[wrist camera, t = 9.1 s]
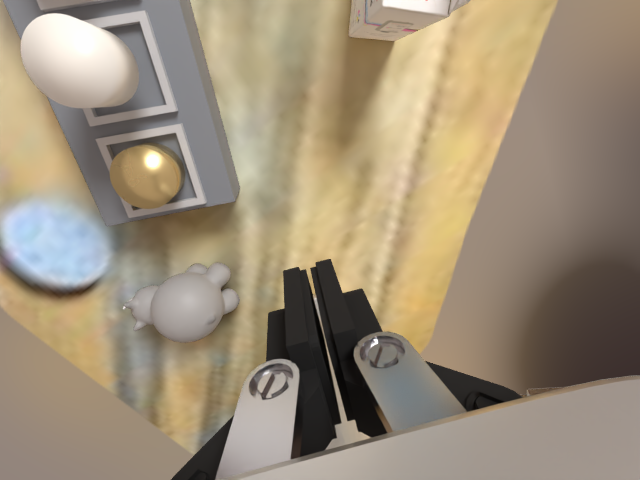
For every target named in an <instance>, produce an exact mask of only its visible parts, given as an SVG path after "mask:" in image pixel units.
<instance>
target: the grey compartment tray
mask: <svg viewBox="0 0 640 480" xmlns="http://www.w3.org/2000/svg"><path fill="white" fill-rule="evenodd" d="M3 2H4V4H5V6H6V8H7V10H8V13H9V15H10V17H11V19H12V21H13V24H14V26H15V28H16V30H17V32H18V34H19V37H20V39H22V35H23V33H24V31H25V29H26V27H27V26H28V25H29V24H30V23H31V22H32V21H33V20H34V19H36V18H37V17H40V16H42V15H46V14H52V13H57V14H64V15H68V16H71V17H74V18H77V19H79V20H82V21H84V22H87V23H89V24H92V25H94V26H97V27H99V28H102V29H104V30H106V31H109V32H111V33H112V34H114V35H116V36H117V37H118V38H120V39H121V40H122V41H123V42H124V43H125V44H126V45H127V47H128V48H129V49H130V51H131V52H132V54H133V56H134V58H135V60H136V62H137V66H138V71H139V83H138V87H137V90H136V92H135V94H134V95H133V96H132V98H131V99H130V100H128V101H127V102H126V103H124V104H122V105H119V106H114V107H98V108H72V107H68V106H64V105H62V104H59V103H57V102H55V101H53V100H52V99H50V98H49V97H47V98H48V100H49V102H50V104H51V106H52V109H53V111H54V113H55V115H56V117H57V120H58V122H59V124H60V126H61V128H62V130H63V133H64V135H65V137H66V139H67V141H68V144H69V146H70V148H71V150H72V152H73V154H74V157H75V159H76V161H77V163H78V165H79V167H80V170H81V172H82V174H83V176H84V178H85V181H86V183H87V185H88V187H89V189H90V191H91V194H92V196H93V198H94V200H95V202H96V205H97V207H98V209H99V211H100V213H101V215H102V218H103V220H104V222H105V224H106V226H111V225H116V224H121V223H126V222H131V221H136V220H142V219H147V218H152V217H157V216H162V215H167V214H173V213H178V212H183V211H188V210H193V209H199V208H204V207H209V206H214V205H219V204H224V203H230V202H235V200H236V198H237V195H238V193H239V190H240V186H239V182H238V178H237V175H236V171H235V167H234V164H233V160H232V156H231V152H230V149H229V145H228V141H227V137H226V134H225V130H224V126H223V123H222V119H221V115H220V111H219V108H218V104H217V100H216V96H215V93H214V89H213V85H212V82H211V78H210V74H209V70H208V67H207V63H206V59H205V55H204V52H203V48H202V44H201V41H200V37H199V33H198V29H197V26H196V22H195V18H194V14H193V11H192V7H191V3H190V0H3ZM149 142H152V143H159V144H162V145H165V146H167V147H168V148H170V149H171V150H173V151H174V152H175V153H176V154H177V155H178V156H179V158H180V159H181V161H182V163H183V165H184V168H185V182H184V185H183V187H182V188H181V190H180V191H179V192H178V193H177V194H176V195H175V196H174V197H173V198H172V199H171V200H170V201H169V202H168V203H166V204H165V205H163V206H161V207H158V208H154V209H143V208H138V207H135V206H133V205H131V204H129V203H127V202H126V201H124V200H123V199H122V198H121V197H120V196H119V195H118V194H117V192H116V191H115V189H114V188H113V186H112V183H111V180H110V166H111V163H112V161H113V159H114V158H115V157H116V155H117V154H119V153H120V152H121V151H123V150H125V149H128V148H131V147H134V146H137V145H140V144H143V143H149Z"/></svg>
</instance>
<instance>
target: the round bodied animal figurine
mask: <svg viewBox="0 0 640 480" xmlns="http://www.w3.org/2000/svg"><path fill="white" fill-rule="evenodd" d="M230 276H231V271H230V269H229V268H228V267H227V266H226V265H225V264H222V263H218V262H217V263H214V264H212V265H211V266H210V267H209V268H208V269H207V268H206V267H205V266H204V265H202V264H199V263H196V264H193V265H191V266H190V267H189V268H188V269H187V270H186V271H185V273H181V274H177V275H175V276H172V277H170V278H169V279H167V280H166V281H164V282H163V283H162V284H161V285H160V286H155V285H153V286H147V287H144V288H142V289H140V290H139V291H137V292H136V294H135V296H134V297H133V298H132V299H130V300H129V301H128V302H126V303H125V304H124V307H123V309H125V308H129V309H131V311H132V314H133V316H134V318H135V319H136V321H137V323H136V325H135V326H134V329H133V330H134V331H137V330H139V329H141V328H143V327H144V326H145V325H147V324H149V325H151V324H154V326H155V327H156V329H157V330H158V331H159V332H160V333H161V334H162V335H163V336H164V337H166V338H168V339H170V340H172V341H176V342H183V343H186V342H194V341H197V340H200V339H202V338H204V337H206V336H207V335H209V334H210V333H211V332H212V331H213V330H214V329H215V328H216V327H217V326H218V324H219V322H220V321H221V318H222V316H223V315H224V314H227V313H229V312H231V311H233V310H234V309H235V308H236V307H237V306H238V304H239V301H240V299H239V296H238V294H237V293H236V292H235V291H234V290H232V289H229V288H228V289H224V290H222V291H221V288H222V286H224V285H225V284H226V283H227V282H228V280H229V279H230Z"/></svg>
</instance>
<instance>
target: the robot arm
mask: <svg viewBox="0 0 640 480" xmlns="http://www.w3.org/2000/svg"><path fill="white" fill-rule="evenodd" d="M310 269H311V274H312V278H313V283H314V288H315V293H316V295H313V294H312V291H311V287H310V283H309V280H308V276H307V272H306V269H305V270H301V271H300V269H299V267H296V268H292V269H288V270H284V271H283V276H284V303H285V308H284V309H280V310H277V311H273V312H269V314H268V332H267V355H266V362H265V363H263V364H261V365H259V366H258V367H257V368H255V369H254V370H253V371H252V372H251V373H250V374H249V375H248V376H247V378H246V380H245V382H244V384H243V387H242V391H241V394H240V397H239V401H238V404H237V408H236V411H235V414H234V416H233V417H232V418H231V419H230V420H229V421H228V422H227V423H226V424H225V425H224V426H223V427H222V428H221V429H220V430H219V431H218V432H217V433H216V434H215V435H214V436H213V437H212V438H211V439H210V440H209V441H208V442H207V443H206V444H205V445H204V446H203V447H202V448H201V449H200V450H199V451H198V452H197V453H196V454H195V455H194V456H193V457H192V458H191V459H190V460H189V461H188V462H187V464H186V465H185V466H184V467H183V468H182V469H181V470H180V471H179V472H178V473H177V474H176V475H175V476H174V477H173V478H172V479H171V480H640V375H639V376H626V377H618V378H611V379H603V380H598V381H593V382H589V383H584V384H579V385H575V386H569V387H559V388H541V389H527V395H519V394H517V393H516V392H515V391H513V390H510V389H508V388H506V387H504V386H501V385H498V384H494V383H491V382H488V381H485V380H482V379H479V378H476V377H473V376H470V375H466V374H464V373H461V372H457V371H454V370H451V369H448V368H445V367H442V366H439V365H436V364H433V363H430V362H427V361H424V359H423V358H422V357H421V356H420V355H419V353H418V352H417V351H416V350H415V349H414V347H413V346H412V345H411V344H410V343H409V341H408V340H406V339H405V338H404V337H403V336H401V335H399V334H396V333H392V332H383V331H382V329H381V327H380V325H379V323H378V321H377V319H376V317H375V314H374V312H373V310H372V308H371V306H370V304H369V302H368V300H367V297H366V295H365V293H364V291H363V289H358V290H354V291H350V292H346V293H342V290H341V287H340V285H339V282H338V279H337V276H336V273H335V270H334V268H333V265H332V262H331V259H327V260H323V261H320V262H316V267H313V268H310Z"/></svg>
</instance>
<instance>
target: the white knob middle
mask: <svg viewBox="0 0 640 480" xmlns="http://www.w3.org/2000/svg"><path fill="white" fill-rule="evenodd" d="M21 57H22V61H23V65H24V67H25V70H26V72H27V74H28V75H29V77H30V79H31V80H32V82H33V83H34V84H35V85H36V86H37V88H38V89H39V90H40V91H41V92H42V93H44V94H45V95H46V96H47V97H49V98H50V99H52V100H53V101H55V102H57V103H59V104H62V105H64V106H68V107H72V108H98V107H114V106H119V105H122V104H124V103H126V102H127V101H128V100H130V99H131V98H132V96H133V95H134V94H135V92H136V90H137V87H138V83H139V71H138V66H137V62H136V60H135V58H134V56H133V54H132V52H131V51H130V49H129V48H128V47H127V45H126V44H125V43H124V42H123V41H122V40H121V39H120V38H118V37H117V36H116V35H114V34H112V33H111V32H109V31H106V30H104V29H102V28H99V27H97V26H94V25H92V24H89V23H87V22H84V21H82V20H79V19H77V18H74V17H71V16H68V15H64V14H57V13H52V14H46V15H42V16H40V17H37V18H36V19H34V20H33V21H32V22H31V23H30V24H29V25H28V26H27V27H26V29H25V31H24V33H23V35H22V39H21Z"/></svg>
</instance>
